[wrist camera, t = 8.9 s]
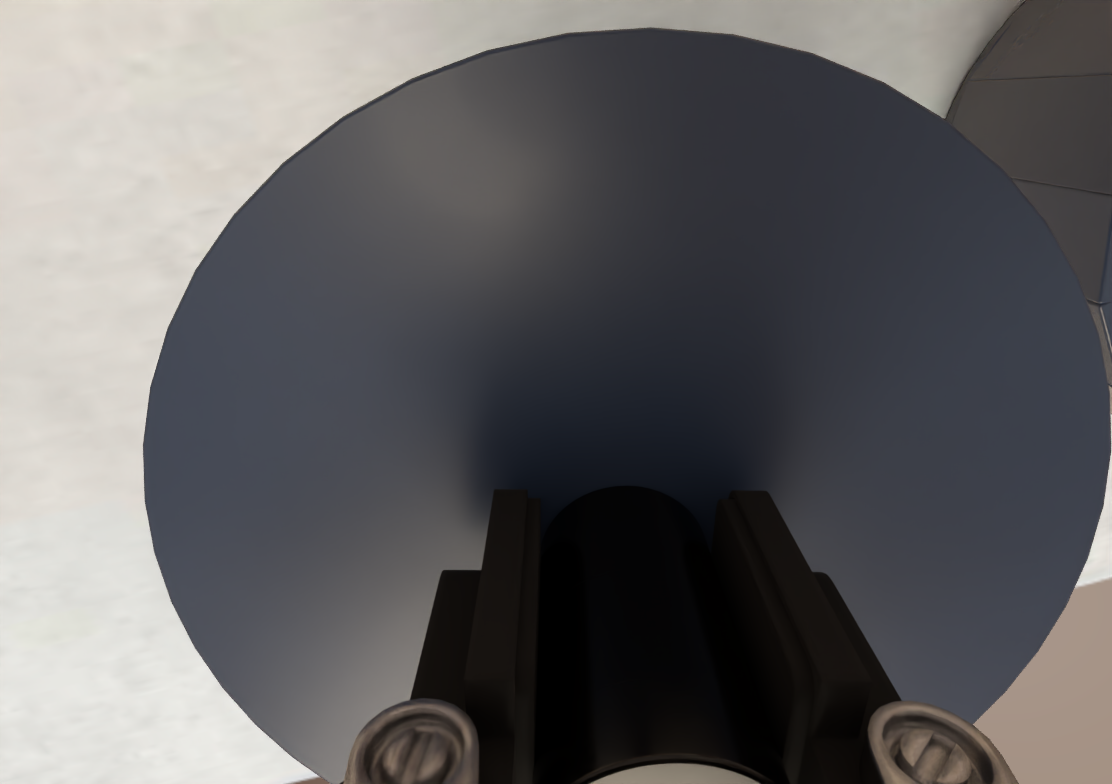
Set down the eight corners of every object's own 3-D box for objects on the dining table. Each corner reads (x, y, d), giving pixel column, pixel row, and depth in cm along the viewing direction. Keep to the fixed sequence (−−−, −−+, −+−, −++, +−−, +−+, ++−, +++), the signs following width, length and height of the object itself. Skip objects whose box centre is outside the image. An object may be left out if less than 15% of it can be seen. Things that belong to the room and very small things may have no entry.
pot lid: (69, 29, 9) (-648, -80, 4) (1208, 40, 10) (2158, -54, 4) (255, 812, 16) (87, 1211, 10) (948, 814, 16) (1168, 1213, 10)
